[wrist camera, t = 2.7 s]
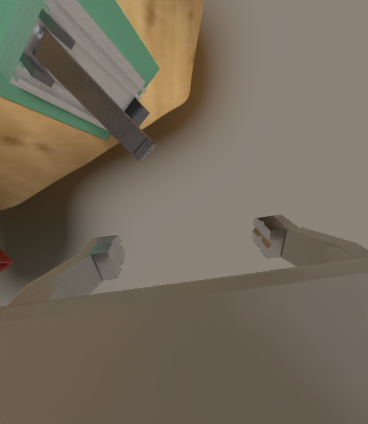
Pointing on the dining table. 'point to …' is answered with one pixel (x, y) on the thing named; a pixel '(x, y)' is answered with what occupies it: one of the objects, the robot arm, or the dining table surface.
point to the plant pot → (4, 261)
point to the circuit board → (117, 33)
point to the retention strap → (91, 95)
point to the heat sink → (77, 47)
